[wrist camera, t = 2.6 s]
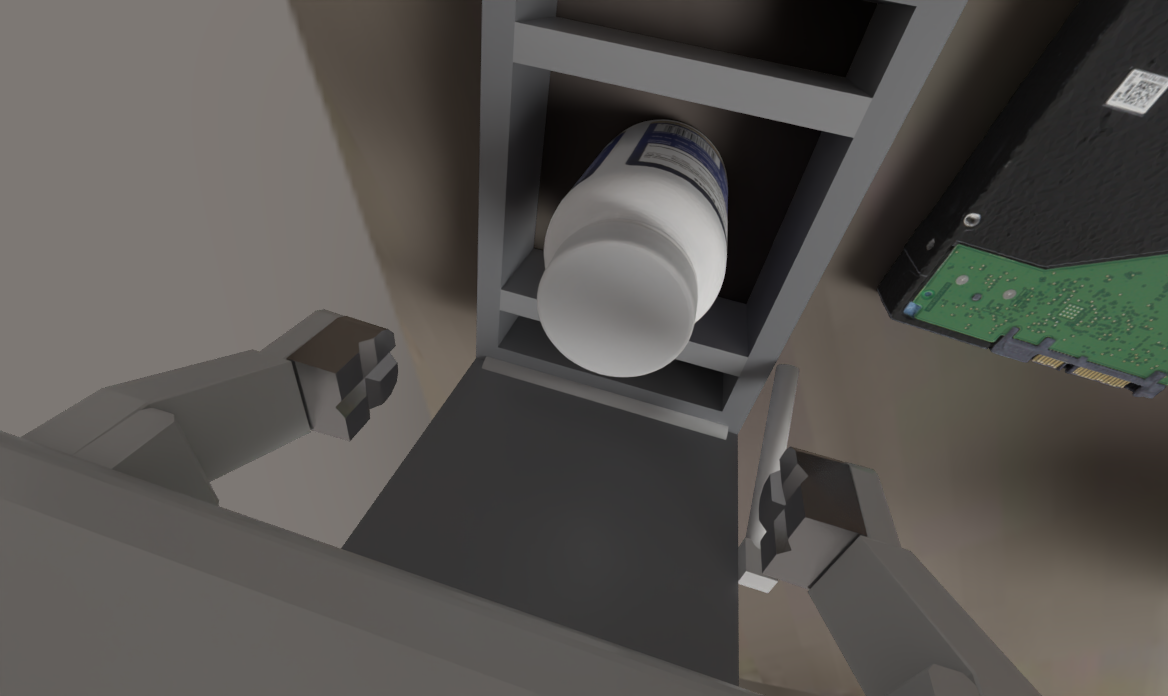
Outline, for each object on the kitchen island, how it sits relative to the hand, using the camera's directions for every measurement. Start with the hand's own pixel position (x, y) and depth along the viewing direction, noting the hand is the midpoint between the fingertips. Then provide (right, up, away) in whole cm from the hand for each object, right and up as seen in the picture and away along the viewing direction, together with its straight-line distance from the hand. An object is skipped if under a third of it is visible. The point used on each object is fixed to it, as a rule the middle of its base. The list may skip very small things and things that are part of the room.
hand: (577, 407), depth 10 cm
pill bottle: (+3, +8, +10) cm, 13 cm away
